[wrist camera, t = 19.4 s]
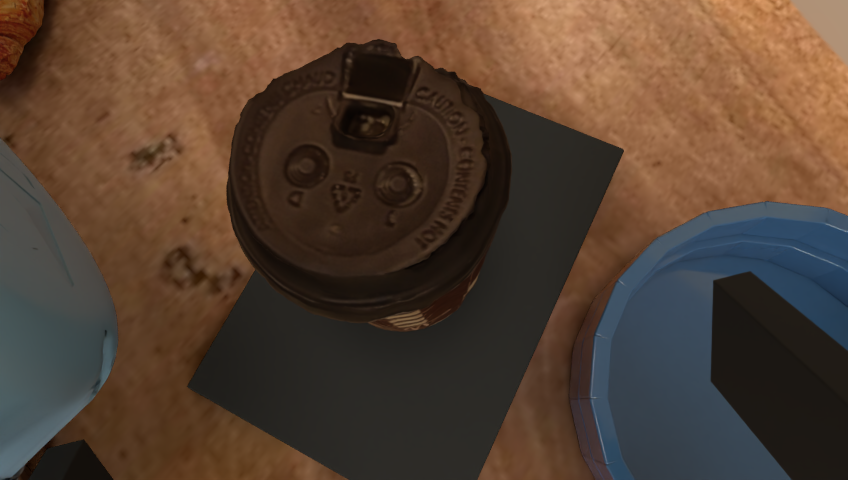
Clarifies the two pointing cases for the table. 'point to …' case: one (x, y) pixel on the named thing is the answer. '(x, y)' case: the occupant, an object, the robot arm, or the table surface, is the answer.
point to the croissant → (17, 30)
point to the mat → (419, 335)
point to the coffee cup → (369, 186)
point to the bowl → (695, 341)
